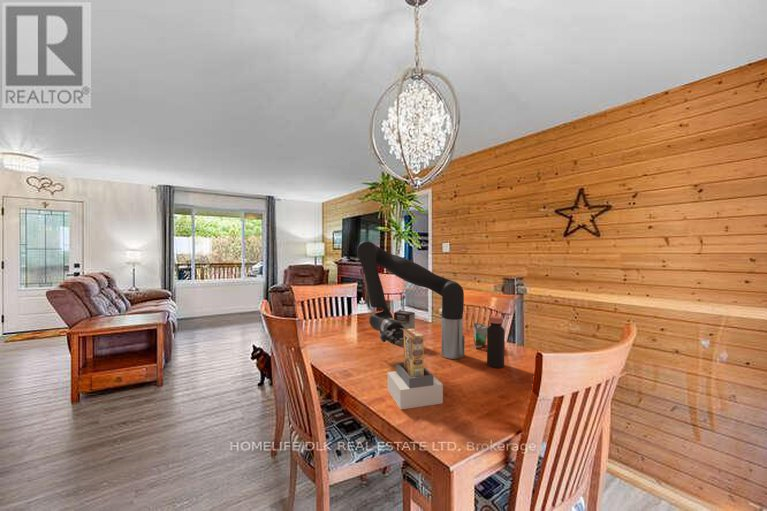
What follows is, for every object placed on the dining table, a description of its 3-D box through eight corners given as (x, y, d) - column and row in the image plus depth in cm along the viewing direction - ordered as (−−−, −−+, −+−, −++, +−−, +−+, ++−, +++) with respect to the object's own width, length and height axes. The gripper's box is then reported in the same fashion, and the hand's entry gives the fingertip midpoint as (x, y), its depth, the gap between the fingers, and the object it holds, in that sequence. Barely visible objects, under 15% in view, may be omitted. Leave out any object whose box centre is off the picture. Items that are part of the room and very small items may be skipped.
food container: (489, 350, 150) (489, 329, 149) (475, 350, 151) (476, 329, 151) (486, 342, 162) (486, 323, 161) (473, 342, 163) (474, 322, 163)
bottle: (506, 364, 132) (507, 316, 131) (500, 369, 127) (500, 319, 126) (491, 360, 137) (491, 314, 136) (484, 365, 132) (484, 317, 131)
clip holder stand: (425, 384, 114) (425, 359, 114) (442, 403, 101) (442, 375, 100) (387, 389, 110) (387, 363, 110) (400, 409, 97) (400, 380, 96)
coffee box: (393, 344, 160) (392, 312, 160) (399, 340, 166) (399, 310, 165) (409, 347, 155) (409, 314, 155) (415, 343, 161) (415, 312, 160)
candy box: (424, 382, 102) (424, 335, 101) (411, 384, 100) (411, 336, 100) (414, 372, 110) (414, 328, 110) (403, 373, 109) (403, 328, 108)
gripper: (374, 321, 126) (386, 331, 111) (408, 318, 130) (424, 328, 115) (375, 339, 127) (386, 353, 111) (408, 336, 131) (424, 349, 115)
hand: (405, 340), depth 113 cm, fingers open, 8 cm apart
